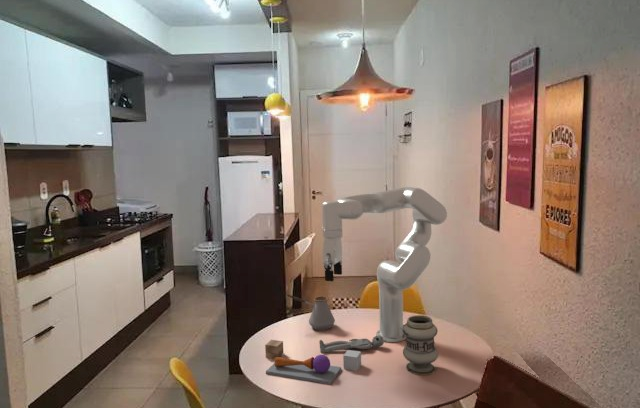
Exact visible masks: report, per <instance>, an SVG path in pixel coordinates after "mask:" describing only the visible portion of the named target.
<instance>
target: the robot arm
mask: <svg viewBox="0 0 640 408" xmlns="http://www.w3.org/2000/svg"><path fill="white" fill-rule="evenodd" d="M404 209H410V210H411V209H412V210H411V211H412V218H413V219H412V221H413V222H412V223H413V224H412V228H411V230H410V231H409V232H408V234H407V235H406V236H405V238H404V239H403V240H402V241H401V242H400V244H398V246H397V248H396V249H395V252H394V256H395V258H396V260H397V261H399V262H397V261H394V260H389V259H387V260H383V261H381V262H380V263H379V264H378V266H377V267H376V268H377V269H376V278H377V285H378V295H379V296H378V297H379V298H378V303H379V308H378V309H379V312H378V313H379V329H378V330H377V331H376V332H375V336H378V335H380V336H381V337H382V338H383V340H384V342H385V343H398V342H402V341H404V340H405V341H406V335H405V334H404V333H403V326H404V325H405V324H404V293H403V291H406V290H408V289H409V288H411V287H412V286H413V285H414V284H415V282H416V281H418V279H419V278H420V276H421V275H422V273H423V272H424V271H425V270H426V269H427V267H428V266H429V263H430V262H431V252H430V249H429V247H427V245H428V243H429V242H430V240H431V238H432V225H435V226H436V225H441V224H443V223H444V222H445V221H446V219H447V218H448V212H447V209H446V207H445V206H444V204H443V203H441V202H440V201H439V200H437V199H436V198H435V197H433V196H432V195H431V194H430V193H428V191H425V190H424V189H422V188H420V187H412V186H411V187H410V186H405V187H404V186H403V187H399V188H392V189H388V190H382V191H378V192H370V193H364V194H357V195H350V196H346V197H345V196H344V197H340V198H339V199H337V200H326V201H324V202H322V204H321V218H322V219H321V220H322V239H323V241H322V260H321V261H322V264H323V268H324V269H323V270H324V281H325V282H333V281H334V275H336V276H337V275H339V276H341V275H342V274H343V261H342V259H343V245H342V244H343V243H342V239H343V220H353V221H354V220H358V219H360V218H361V217H362V216H363V214H367V213H371V214H385V213H390V212H395V211H398V210H404Z"/></svg>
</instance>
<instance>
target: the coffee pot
mask: <svg viewBox="0 0 640 408" xmlns="http://www.w3.org/2000/svg"><path fill="white" fill-rule="evenodd" d="M285 296H286V297H285V299H287V297H289V298H290V299H293V300H295V301H297V302H301V303H304V304H307V305H309V306H311V307H313V309H312V311H311V314H310V317H309V320H308V324H309V325H310V326H311V327H312V328H313V330H315V331H316V330H317V331H325V330H329V329H331V328H332V326H334V324H335V322H336V319H335V317H334V315H333V313H332V311H331V309H330V306H329V304H328V301H329V297H327V296H322V295H320V296H316V297H314V298H313V300H314V302H315V303H311V302H309V301H306V300H304V299H301V298H300V297H297V296H294V295H290V294H286V295H285Z"/></svg>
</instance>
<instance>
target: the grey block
mask: <svg viewBox="0 0 640 408" xmlns="http://www.w3.org/2000/svg"><path fill="white" fill-rule="evenodd" d="M342 360H343V370H349V371H357V372H358V371H359V369H360V367H361V366H362V352H361V351H359V350H352V349H346V352H345V353H344V354H343V359H342Z"/></svg>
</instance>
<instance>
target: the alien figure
mask: <svg viewBox="0 0 640 408" xmlns="http://www.w3.org/2000/svg"><path fill="white" fill-rule="evenodd" d="M384 343H385V341H384V340H383V338H382V337H381V336H380V335H378V336H376V335H375V336H373V337H372V340H371V341H370V339H368V338H351V339H348V340H334V341H330V342H326V343H325V342H324V341H323V340H322V339H320V340H319V349H320V351H319V352H320V353H321V354H325V353H331V352H334V351H341V350H349V349H350V350H352V349H353V350H359V349H361V350H368V349H370V348H372V349H378V348H380V347H382V346H384Z"/></svg>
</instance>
